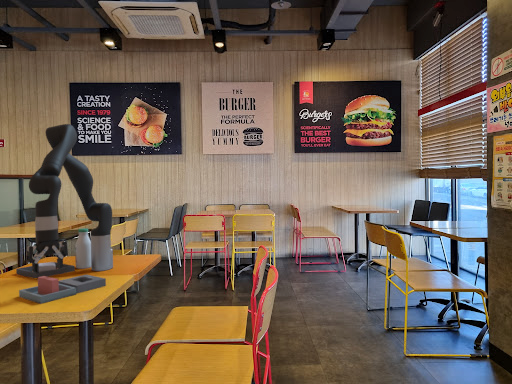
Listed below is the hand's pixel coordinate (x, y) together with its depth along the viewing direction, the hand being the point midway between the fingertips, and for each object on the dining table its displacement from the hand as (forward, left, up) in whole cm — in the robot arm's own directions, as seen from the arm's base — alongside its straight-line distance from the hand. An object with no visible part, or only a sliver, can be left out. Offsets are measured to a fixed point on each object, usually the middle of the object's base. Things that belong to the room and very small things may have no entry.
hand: (48, 270), depth 136 cm
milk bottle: (-35, -35, -10) cm, 51 cm away
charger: (-19, -41, -10) cm, 46 cm away
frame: (-19, -41, -9) cm, 46 cm away
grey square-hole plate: (-13, 0, -9) cm, 16 cm away
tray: (0, 0, -9) cm, 9 cm away
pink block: (0, +5, -6) cm, 8 cm away
